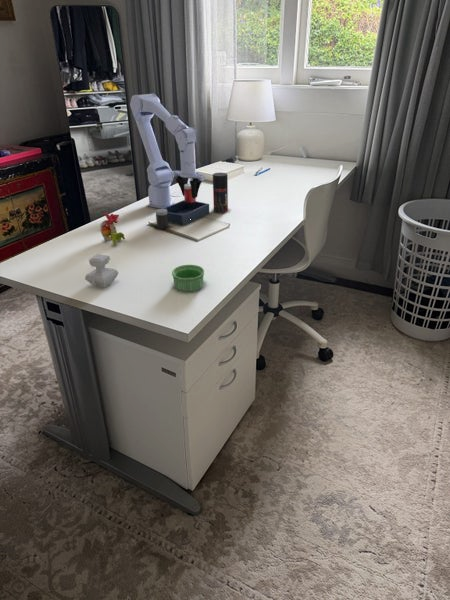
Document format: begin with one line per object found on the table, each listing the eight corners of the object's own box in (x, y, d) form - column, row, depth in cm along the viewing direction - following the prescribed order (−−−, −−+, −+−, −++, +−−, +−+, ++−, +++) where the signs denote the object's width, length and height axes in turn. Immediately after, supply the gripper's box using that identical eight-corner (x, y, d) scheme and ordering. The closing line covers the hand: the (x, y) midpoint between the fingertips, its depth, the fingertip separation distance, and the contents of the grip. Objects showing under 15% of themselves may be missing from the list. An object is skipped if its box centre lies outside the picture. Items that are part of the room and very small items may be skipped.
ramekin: (167, 289, 117) (166, 275, 115) (181, 276, 124) (180, 262, 122) (196, 295, 114) (196, 280, 112) (209, 280, 122) (209, 267, 119)
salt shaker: (182, 201, 170) (181, 185, 167) (189, 198, 174) (188, 182, 170) (191, 203, 168) (190, 186, 165) (198, 200, 171) (197, 184, 168)
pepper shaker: (154, 227, 160) (152, 211, 157) (162, 224, 163) (161, 207, 160) (163, 230, 158) (161, 213, 154) (171, 226, 161) (170, 209, 158)
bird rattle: (101, 249, 148) (118, 244, 142) (87, 220, 144) (103, 213, 139) (113, 243, 152) (130, 238, 147) (100, 214, 149) (116, 207, 144)
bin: (159, 219, 168) (158, 210, 166) (186, 208, 180) (186, 199, 178) (182, 225, 162) (181, 215, 160) (209, 213, 174) (209, 203, 172)
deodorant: (226, 213, 174) (225, 176, 166) (212, 212, 175) (211, 175, 167) (229, 208, 179) (228, 172, 171) (215, 208, 180) (214, 172, 172)
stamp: (103, 275, 126) (98, 249, 121) (122, 279, 123) (118, 252, 119) (83, 289, 118) (78, 261, 114) (103, 293, 116) (98, 265, 112)
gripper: (166, 161, 164) (169, 196, 171) (196, 165, 157) (197, 201, 163) (178, 158, 169) (181, 191, 176) (207, 162, 162) (208, 197, 168)
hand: (189, 196), depth 170 cm, fingers closed on salt shaker, 4 cm apart
